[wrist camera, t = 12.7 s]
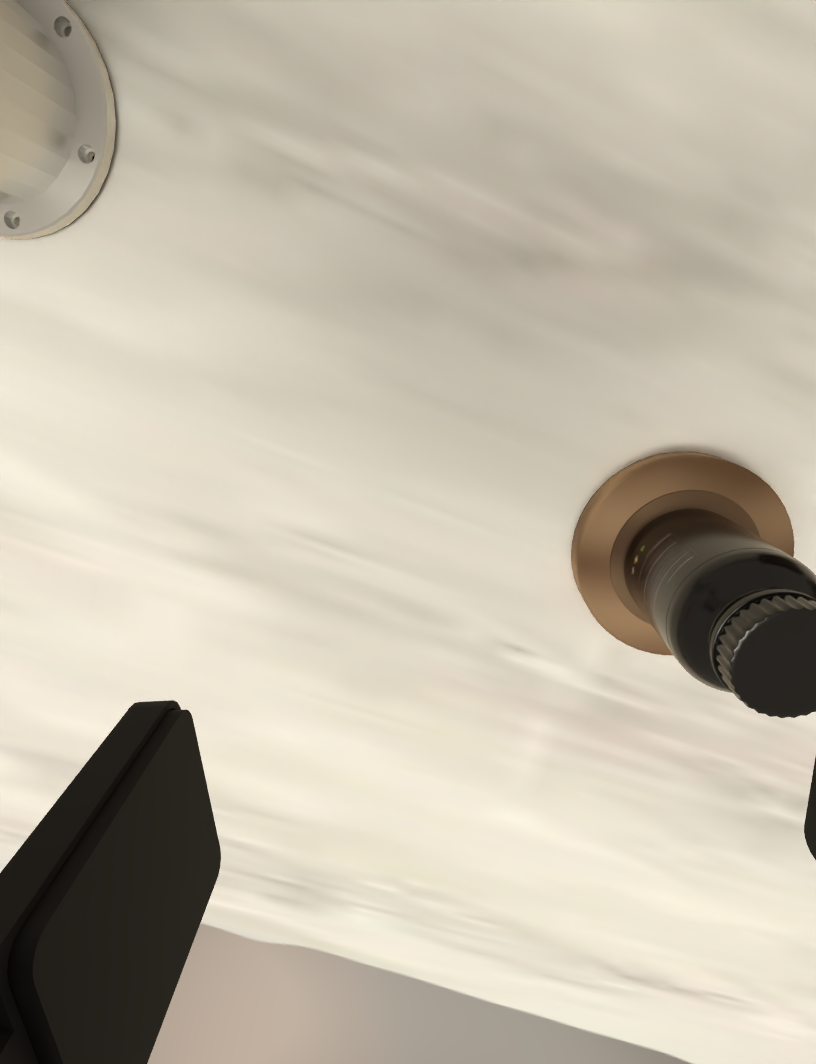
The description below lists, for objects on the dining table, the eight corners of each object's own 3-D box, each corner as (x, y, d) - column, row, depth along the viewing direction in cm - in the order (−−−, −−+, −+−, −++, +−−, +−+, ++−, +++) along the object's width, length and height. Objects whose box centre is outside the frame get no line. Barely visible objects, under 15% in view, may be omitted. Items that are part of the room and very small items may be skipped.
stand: (572, 457, 36) (580, 463, 33) (786, 446, 35) (808, 452, 33) (569, 642, 39) (576, 659, 37) (764, 637, 38) (783, 654, 36)
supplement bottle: (763, 522, 34) (927, 612, 22) (714, 630, 36) (840, 763, 24) (645, 490, 34) (747, 563, 22) (602, 599, 36) (675, 718, 24)
